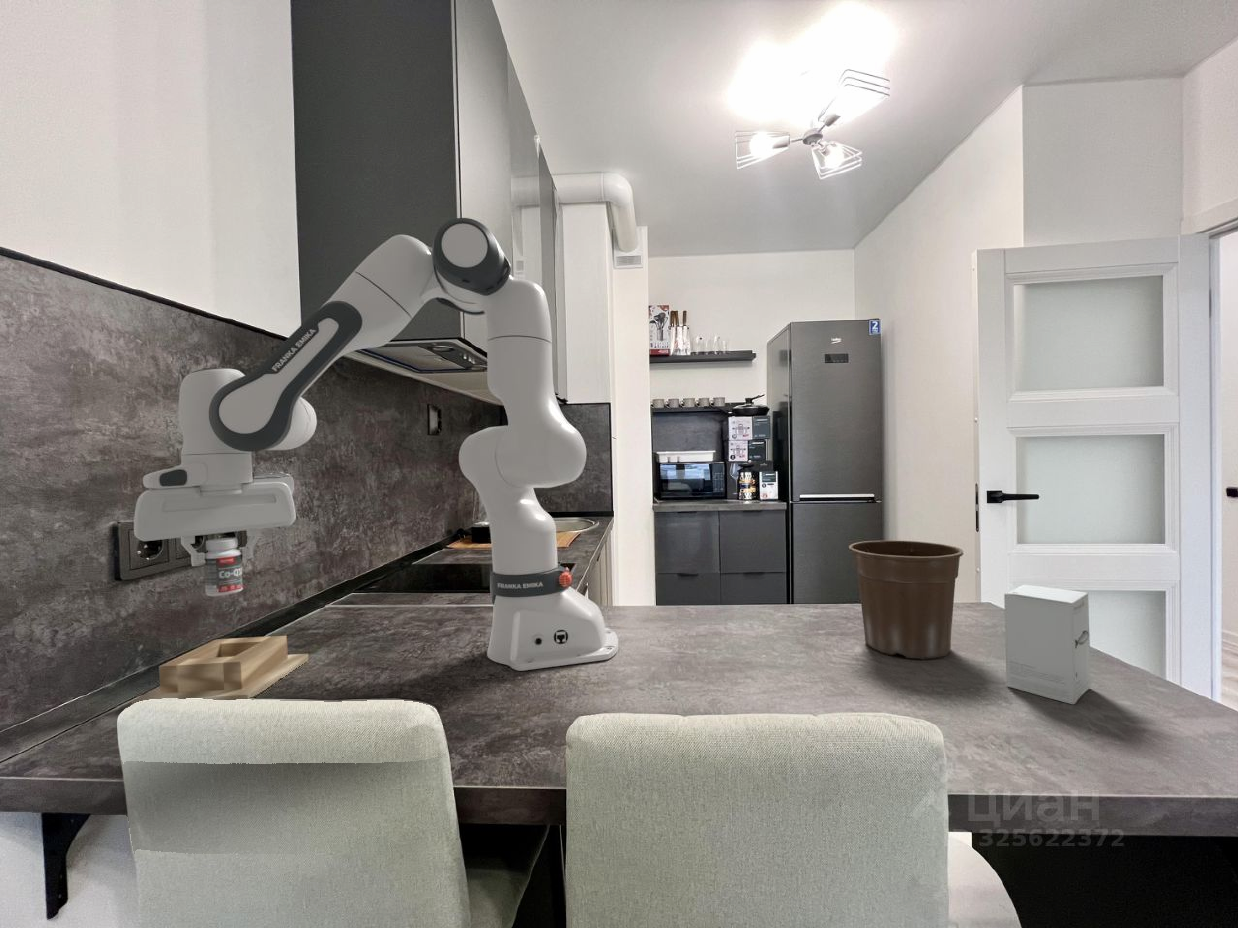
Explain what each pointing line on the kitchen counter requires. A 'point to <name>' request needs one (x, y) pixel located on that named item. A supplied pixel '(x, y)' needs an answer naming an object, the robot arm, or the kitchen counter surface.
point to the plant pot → (907, 595)
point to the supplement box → (1047, 642)
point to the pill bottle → (223, 567)
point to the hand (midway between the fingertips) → (223, 561)
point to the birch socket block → (226, 669)
